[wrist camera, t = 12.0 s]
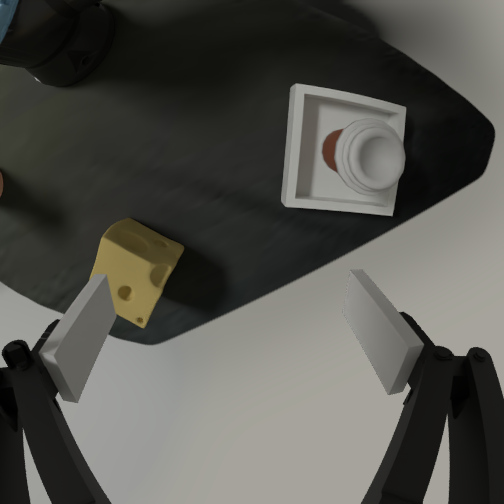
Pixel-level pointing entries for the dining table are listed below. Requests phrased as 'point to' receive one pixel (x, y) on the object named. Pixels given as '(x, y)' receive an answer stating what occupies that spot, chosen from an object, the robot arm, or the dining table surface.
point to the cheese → (135, 267)
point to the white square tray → (309, 149)
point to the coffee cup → (365, 155)
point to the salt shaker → (1, 184)
